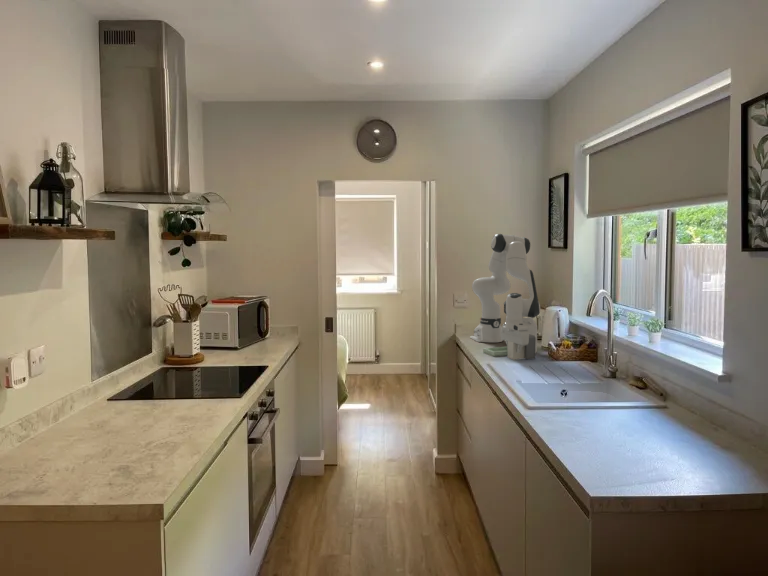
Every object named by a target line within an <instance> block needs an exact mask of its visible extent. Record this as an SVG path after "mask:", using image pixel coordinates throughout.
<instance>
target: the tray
mask: <svg viewBox="0 0 768 576" xmlns="http://www.w3.org/2000/svg"><path fill="white" fill-rule="evenodd" d="M482 353H483V354H486V355H488V356H491V357H503V356H504V357H505V356H508V349H507V345H506V346H496V347H484V348H482Z"/></svg>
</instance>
